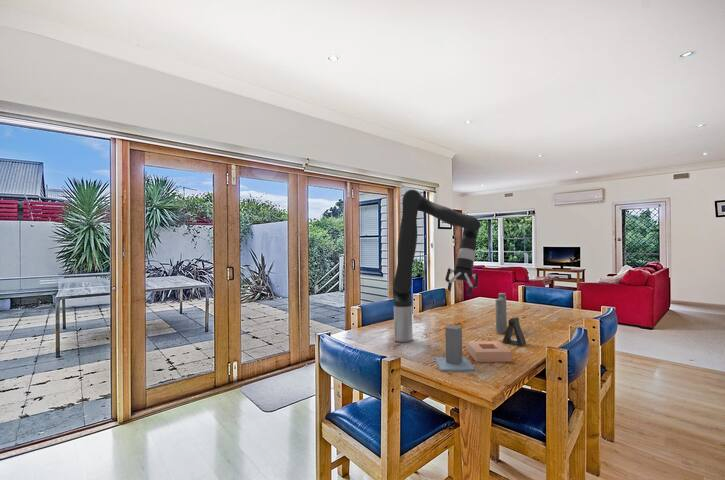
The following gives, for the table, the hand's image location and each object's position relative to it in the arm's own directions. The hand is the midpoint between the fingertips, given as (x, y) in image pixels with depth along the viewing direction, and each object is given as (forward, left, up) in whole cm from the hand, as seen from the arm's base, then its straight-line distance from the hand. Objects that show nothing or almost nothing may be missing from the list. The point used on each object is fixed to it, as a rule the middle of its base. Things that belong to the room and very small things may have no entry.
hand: (459, 293), depth 156 cm
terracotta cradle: (+10, -9, -25) cm, 29 cm away
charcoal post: (-7, -18, -25) cm, 31 cm away
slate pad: (-7, -19, -25) cm, 33 cm away
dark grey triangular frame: (+28, +8, -26) cm, 38 cm away
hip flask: (+31, +31, -26) cm, 50 cm away
